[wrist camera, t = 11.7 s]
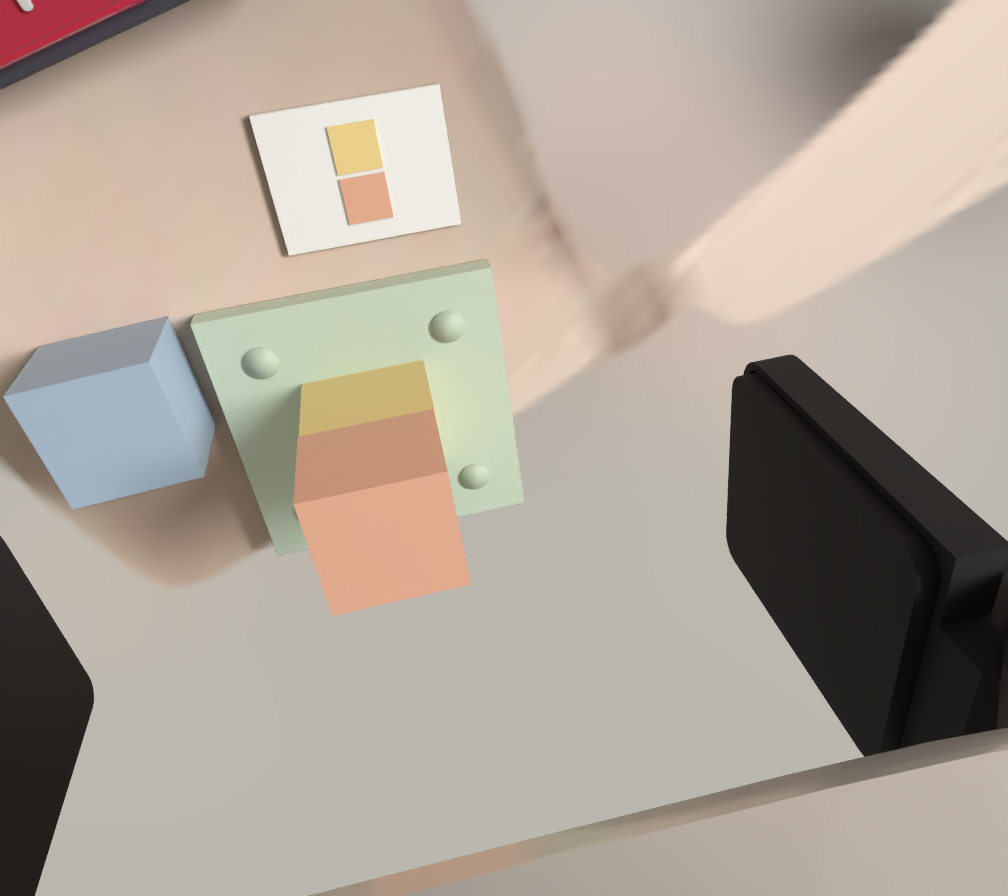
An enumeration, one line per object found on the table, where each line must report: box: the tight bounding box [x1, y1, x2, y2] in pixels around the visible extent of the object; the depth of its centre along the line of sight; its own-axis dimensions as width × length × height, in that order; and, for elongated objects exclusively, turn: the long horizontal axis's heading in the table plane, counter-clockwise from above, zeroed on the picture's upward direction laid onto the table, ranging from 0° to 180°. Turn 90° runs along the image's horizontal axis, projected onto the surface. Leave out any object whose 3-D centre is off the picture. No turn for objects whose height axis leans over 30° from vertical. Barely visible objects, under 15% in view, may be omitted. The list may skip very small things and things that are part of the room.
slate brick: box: [3, 316, 216, 510], centre depth 36 cm, size 6×6×5 cm
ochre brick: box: [299, 360, 442, 444], centre depth 38 cm, size 6×6×5 cm
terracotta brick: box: [293, 409, 471, 616], centre depth 34 cm, size 6×6×5 cm
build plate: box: [190, 259, 524, 556], centre depth 41 cm, size 14×14×1 cm
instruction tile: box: [249, 83, 461, 256], centre depth 35 cm, size 6×8×1 cm
